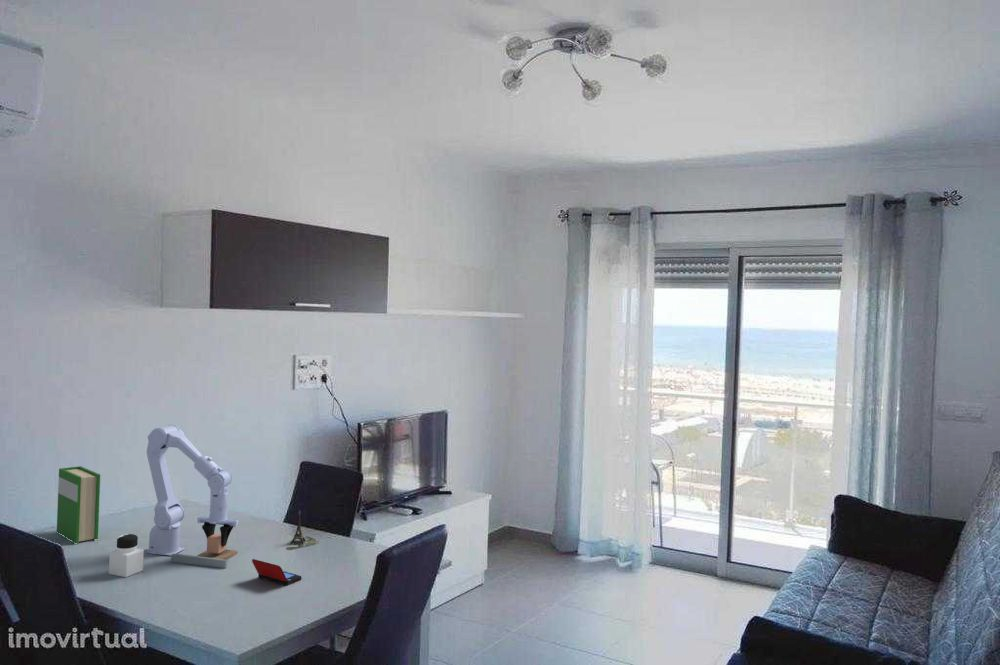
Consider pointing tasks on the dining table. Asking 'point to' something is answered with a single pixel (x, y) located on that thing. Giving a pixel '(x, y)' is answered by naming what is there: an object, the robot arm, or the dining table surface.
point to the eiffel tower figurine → (301, 538)
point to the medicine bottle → (126, 557)
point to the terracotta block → (215, 544)
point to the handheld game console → (274, 573)
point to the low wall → (199, 560)
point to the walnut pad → (219, 554)
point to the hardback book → (78, 503)
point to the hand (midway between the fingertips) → (217, 545)
